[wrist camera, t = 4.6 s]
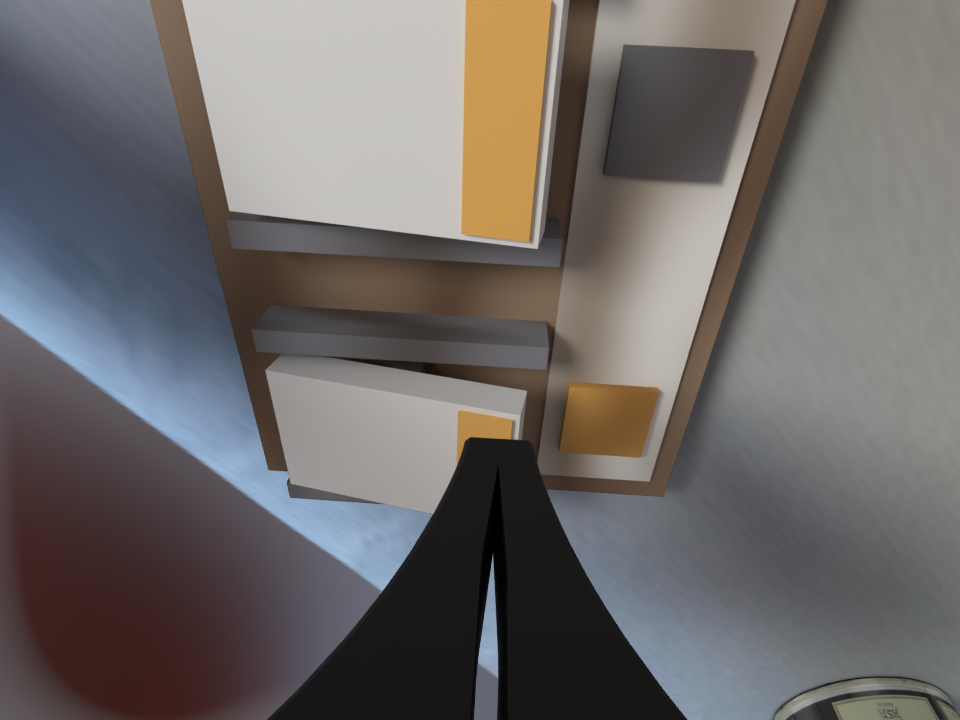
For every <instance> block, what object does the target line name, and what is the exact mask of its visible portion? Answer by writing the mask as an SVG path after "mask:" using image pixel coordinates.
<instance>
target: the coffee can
mask: <svg viewBox="0 0 960 720" xmlns="http://www.w3.org/2000/svg"><path fill="white" fill-rule="evenodd" d="M773 720H960V717H959V716H958V714H957V712H956V710H955V709H954V707H953V703H952V701H951V699H950V698H949V696H948V695H946V694H945V693H944V692H942V691H941V690H940V689H938V688H936V687H934V686H932V685H930V684H926V683H923V682H920V681H916V680H911V679H904V678H863V679H854V680H848V681H842V682H838V683H834V684H829V685H825V686H822V687H820V688H817V689H814V690H811V691H808V692H806V693H804V694H801V695H799V696H797V697H795V698H794V699H792V700H790V701H789V702H787V703H786V704H785V705H783V706H782V707H781V708H780V709H779V710H778V711H777V712H776V714H775V716H774V718H773Z"/></svg>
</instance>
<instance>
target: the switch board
mask: <svg viewBox="0 0 960 720" xmlns="http://www.w3.org/2000/svg"><path fill="white" fill-rule="evenodd" d="M827 1H828V0H570V1H569V10H568V19H567V29H566V38H565V47H564V56H563V65H562V75H561V84H560V93H559V102H558V111H557V121H556V130H555V139H554V148H553V157H552V167H551V176H550V185H549V194H548V203H547V212H546V222H545V231H544V234H543V237H542V239H541V242H540V244H539V247H538V249H533V248H525V247H517V246H508V245H500V244H492V243H484V242H476V241H468V240H460V239H452V238H444V237H436V236H428V235H420V234H412V233H404V232H395V231H387V230H379V229H371V228H363V227H355V226H347V225H339V224H331V223H323V222H315V221H307V220H299V219H291V218H282V217H274V216H266V215H258V214H250V213H242V212H234V211H229V207H228V202H227V198H226V193H225V189H224V184H223V180H222V176H221V171H220V167H219V162H218V158H217V153H216V149H215V144H214V140H213V136H212V131H211V127H210V122H209V118H208V113H207V109H206V104H205V100H204V96H203V91H202V87H201V82H200V78H199V73H198V69H197V64H196V60H195V56H194V51H193V47H192V42H191V38H190V33H189V29H188V24H187V20H186V16H185V11H184V7H183V2H182V0H150V3H151V7H152V11H153V15H154V19H155V23H156V27H157V31H158V34H159V38H160V42H161V46H162V50H163V54H164V58H165V62H166V66H167V70H168V74H169V78H170V82H171V86H172V90H173V94H174V98H175V102H176V106H177V110H178V114H179V118H180V122H181V125H182V129H183V133H184V137H185V141H186V145H187V149H188V153H189V157H190V161H191V165H192V169H193V173H194V177H195V181H196V185H197V189H198V193H199V197H200V201H201V205H202V209H203V213H204V216H205V220H206V224H207V228H208V232H209V236H210V240H211V244H212V248H213V252H214V256H215V260H216V264H217V268H218V272H219V276H220V280H221V284H222V288H223V292H224V296H225V300H226V304H227V307H228V311H229V315H230V319H231V323H232V327H233V331H234V335H235V339H236V343H237V347H238V351H239V355H240V359H241V363H242V367H243V371H244V375H245V379H246V383H247V387H248V391H249V395H250V398H251V402H252V406H253V410H254V414H255V418H256V422H257V426H258V430H259V434H260V438H261V442H262V446H263V450H264V454H265V458H266V462H267V466H268V470H275V471H288V469H287V464H286V460H285V456H284V451H283V447H282V442H281V438H280V433H279V429H278V424H277V420H276V416H275V411H274V407H273V402H272V398H271V393H270V389H269V384H268V380H267V376H266V371H265V370H266V369H267V368H268V367H269V366H270V365H271V364H272V363H273V362H274V361H275V360H276V359H277V358H278V357H279V356H280V355H281V354H282V353H283V354H299V355H315V356H324V357H330V358H336V359H342V360H348V361H354V362H360V363H366V364H372V365H377V366H383V367H389V368H395V369H401V370H407V371H413V372H419V373H425V374H431V375H437V376H442V377H448V378H454V379H460V380H466V381H472V382H478V383H484V384H490V385H496V386H502V387H507V388H513V389H519V390H525V391H527V396H526V406H525V415H524V424H523V433H522V440H528V441H529V442H530V443H531V444H533V448H534V453H535V457H536V461H537V464H538V468H539V471H540V474H541V477H542V480H543V482H544V485H545V488H546V489H555V490H569V491H584V492H599V493H614V494H628V495H643V496H658V497H663V496H664V493H665V490H666V487H667V484H668V481H669V478H670V475H671V472H672V469H673V466H674V463H675V460H676V457H677V454H678V451H679V448H680V445H681V442H682V439H683V436H684V433H685V430H686V427H687V424H688V421H689V418H690V415H691V412H692V409H693V406H694V403H695V400H696V397H697V394H698V391H699V388H700V385H701V382H702V379H703V376H704V373H705V370H706V367H707V364H708V360H709V357H710V354H711V351H712V348H713V345H714V342H715V339H716V336H717V333H718V330H719V327H720V324H721V321H722V318H723V315H724V312H725V309H726V306H727V303H728V300H729V297H730V294H731V291H732V288H733V285H734V282H735V279H736V276H737V273H738V270H739V267H740V264H741V261H742V258H743V255H744V252H745V249H746V246H747V243H748V240H749V237H750V234H751V231H752V228H753V225H754V222H755V219H756V216H757V213H758V210H759V206H760V203H761V200H762V197H763V194H764V191H765V188H766V185H767V182H768V179H769V176H770V173H771V170H772V167H773V164H774V161H775V158H776V155H777V152H778V149H779V146H780V143H781V140H782V137H783V134H784V131H785V128H786V125H787V122H788V119H789V116H790V113H791V110H792V107H793V104H794V101H795V98H796V95H797V92H798V89H799V86H800V83H801V80H802V77H803V74H804V71H805V68H806V65H807V62H808V59H809V56H810V53H811V49H812V46H813V43H814V40H815V37H816V34H817V31H818V28H819V25H820V22H821V19H822V16H823V13H824V10H825V7H826V4H827ZM287 486H288V490H289V495H290V498H302V499H317V500H331V501H346V502H360V503H375V504H383V503H378V502H374V501H369V500H364V499H360V498H355V497H350V496H346V495H341V494H337V493H332V492H327V491H323V490H318V489H313V488H309V487H304V486H299V485H295V484H291V482H290V478H289V479H288V481H287Z"/></svg>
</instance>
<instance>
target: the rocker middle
mask: <svg viewBox="0 0 960 720" xmlns="http://www.w3.org/2000/svg"><path fill="white" fill-rule="evenodd" d="M569 1H570V0H182V2H183V7H184V11H185V16H186V20H187V24H188V29H189V33H190V38H191V42H192V47H193V51H194V56H195V60H196V64H197V69H198V73H199V78H200V82H201V87H202V91H203V96H204V100H205V104H206V109H207V113H208V118H209V122H210V127H211V131H212V136H213V140H214V144H215V149H216V153H217V158H218V162H219V167H220V171H221V176H222V180H223V184H224V189H225V193H226V198H227V202H228V207H229V211H234V212H242V213H250V214H258V215H266V216H274V217H282V218H291V219H299V220H307V221H315V222H323V223H331V224H339V225H347V226H355V227H363V228H371V229H379V230H387V231H395V232H404V233H412V234H420V235H428V236H436V237H444V238H452V239H460V240H468V241H476V242H484V243H492V244H500V245H508V246H517V247H525V248H533V249H538V247H539V244H540V242H541V239H542V237H543V234H544V231H545V222H546V212H547V203H548V194H549V185H550V176H551V167H552V157H553V148H554V139H555V130H556V121H557V111H558V102H559V93H560V84H561V75H562V65H563V56H564V47H565V38H566V29H567V19H568V10H569Z"/></svg>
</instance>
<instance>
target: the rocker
mask: <svg viewBox="0 0 960 720" xmlns="http://www.w3.org/2000/svg"><path fill="white" fill-rule="evenodd" d="M265 371H266V376H267V380H268V384H269V389H270V393H271V398H272V402H273V407H274V411H275V416H276V420H277V424H278V429H279V433H280V438H281V442H282V447H283V451H284V456H285V460H286V464H287V469H288V473H289V478H290V482H291V484H295V485H299V486H304V487H309V488H313V489H318V490H323V491H327V492H332V493H337V494H341V495H346V496H350V497H355V498H360V499H364V500H369V501H374V502H378V503H383V504H388V505H392V506H397V507H402V508H406V509H411V510H416V511H420V512H425V513H430V514H434V512H435V510H436V508H437V506H438V504H439V502H440V500H441V498H442V496H443V495H444V493H445V491H446V489H447V487H448V485H449V483H450V480H451V478H452V476H453V474H454V472H455V469H456V467H457V464H458V462H459V459H460V456H461V453H462V451H463V447H464V443H465V441H466V440H467V439H468V438H470V437H478V438H495V439H513V440H522V433H523V424H524V415H525V406H526V396H527V391H525V390H519V389H513V388H507V387H502V386H496V385H490V384H484V383H478V382H472V381H466V380H460V379H454V378H448V377H442V376H437V375H431V374H425V373H419V372H413V371H407V370H401V369H395V368H389V367H383V366H377V365H372V364H366V363H360V362H354V361H348V360H342V359H336V358H330V357H324V356H315V355H299V354H283V353H282V354H281V355H280V356H279V357H278V358H277V359H276V360H275V361H274V362H273V363H272V364H271V365H270V366H269V367H268V368H267V369H266V370H265Z"/></svg>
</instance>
